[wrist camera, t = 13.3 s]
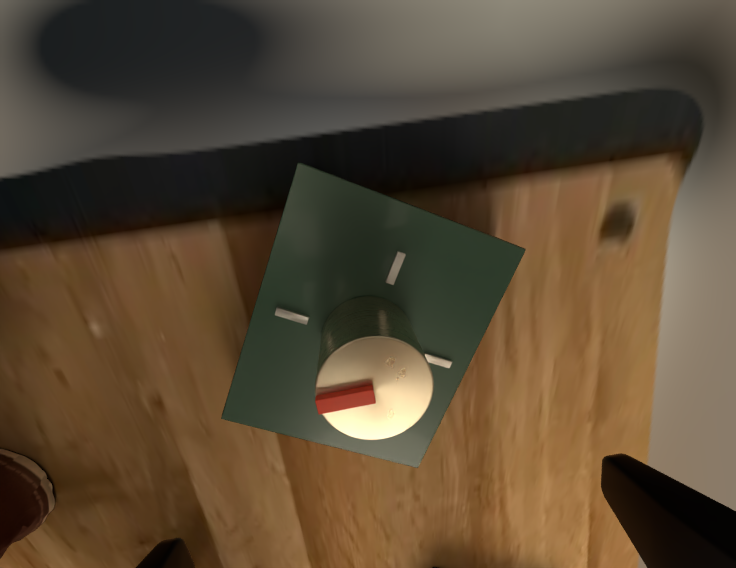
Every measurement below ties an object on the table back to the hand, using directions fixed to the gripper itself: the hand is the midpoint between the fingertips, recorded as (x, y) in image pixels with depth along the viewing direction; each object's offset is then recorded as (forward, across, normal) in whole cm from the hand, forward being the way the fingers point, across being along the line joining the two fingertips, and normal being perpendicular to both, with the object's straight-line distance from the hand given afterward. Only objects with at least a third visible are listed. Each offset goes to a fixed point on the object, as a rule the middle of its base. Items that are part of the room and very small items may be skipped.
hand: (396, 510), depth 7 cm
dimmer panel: (+12, 0, 0) cm, 12 cm away
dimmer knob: (+8, 0, 0) cm, 8 cm away
